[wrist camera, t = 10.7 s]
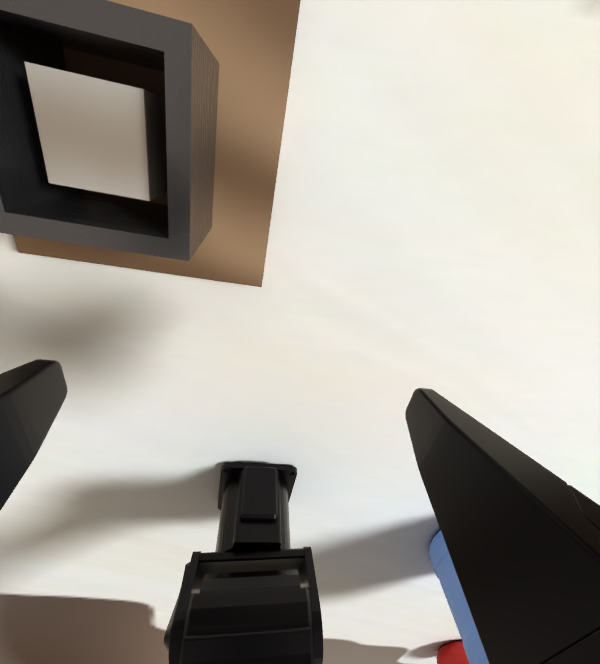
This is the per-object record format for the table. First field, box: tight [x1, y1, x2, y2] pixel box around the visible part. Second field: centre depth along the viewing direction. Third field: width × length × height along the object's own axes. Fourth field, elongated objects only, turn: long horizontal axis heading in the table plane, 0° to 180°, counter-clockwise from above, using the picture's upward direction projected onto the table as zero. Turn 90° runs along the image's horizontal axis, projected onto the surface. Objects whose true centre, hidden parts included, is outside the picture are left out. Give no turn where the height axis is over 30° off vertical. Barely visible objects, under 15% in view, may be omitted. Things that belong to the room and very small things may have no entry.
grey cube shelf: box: [0, 0, 219, 261], centre depth 11 cm, size 6×6×5 cm
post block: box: [14, 0, 300, 287], centre depth 12 cm, size 12×12×5 cm
